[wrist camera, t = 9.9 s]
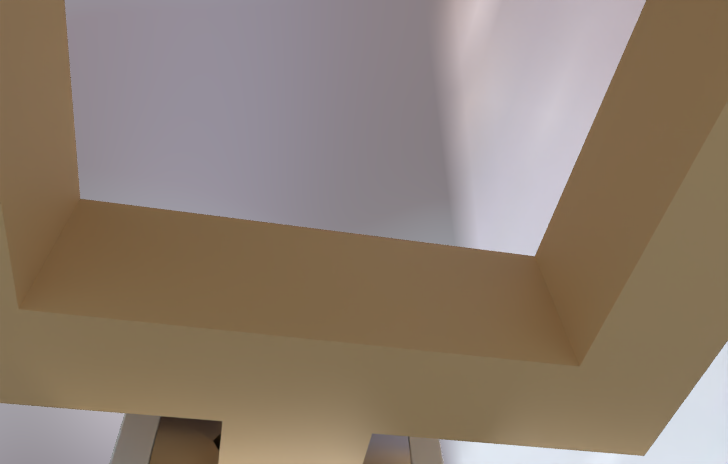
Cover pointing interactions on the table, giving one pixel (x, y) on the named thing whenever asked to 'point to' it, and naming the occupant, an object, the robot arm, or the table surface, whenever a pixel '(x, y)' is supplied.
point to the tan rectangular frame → (378, 282)
